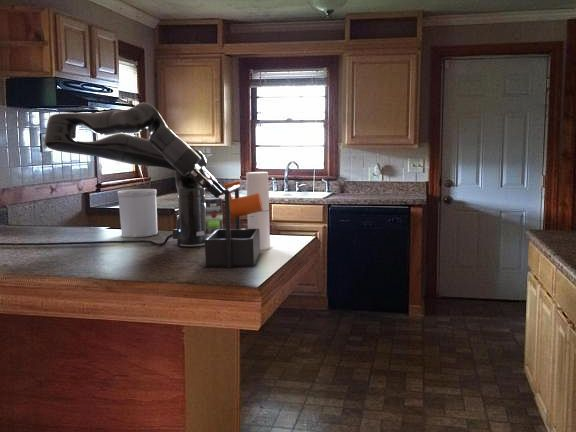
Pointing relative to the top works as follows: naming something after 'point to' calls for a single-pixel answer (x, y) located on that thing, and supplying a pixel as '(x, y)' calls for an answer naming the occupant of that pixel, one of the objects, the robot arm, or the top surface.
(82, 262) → the top surface
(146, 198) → the utensil holder
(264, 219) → the cylindrical container
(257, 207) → the measuring cup
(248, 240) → the basket
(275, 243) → the top surface
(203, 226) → the robot arm
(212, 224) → the coffee can
